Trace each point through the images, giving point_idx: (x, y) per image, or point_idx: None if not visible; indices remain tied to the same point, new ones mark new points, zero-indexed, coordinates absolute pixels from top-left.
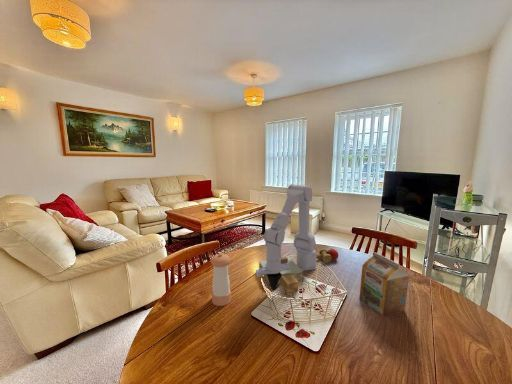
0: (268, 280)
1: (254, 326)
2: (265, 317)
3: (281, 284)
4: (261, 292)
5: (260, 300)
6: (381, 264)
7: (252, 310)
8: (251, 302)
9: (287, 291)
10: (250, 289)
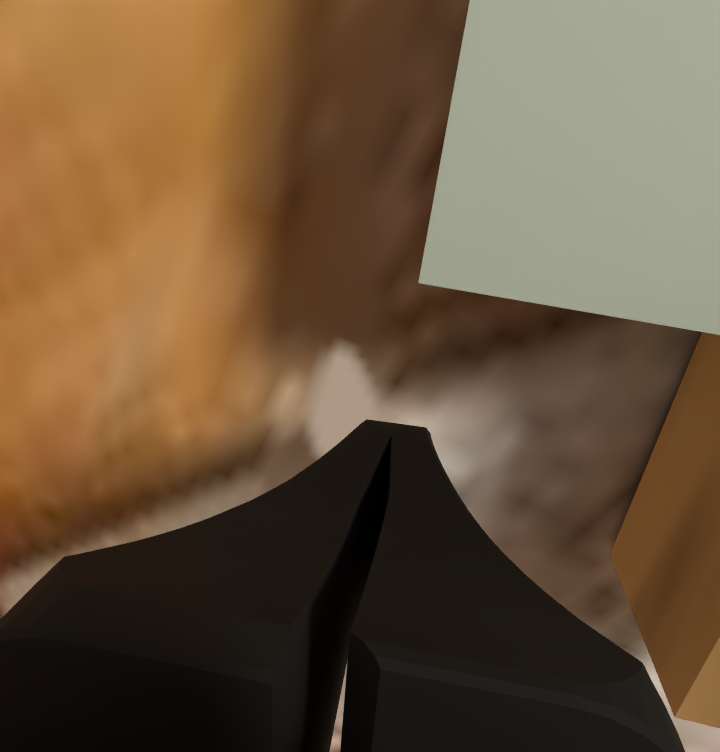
0: None
1: None
2: None
3: None
4: (219, 334)
5: (146, 481)
6: None
7: (15, 568)
8: (23, 457)
9: (620, 574)
10: (57, 161)
